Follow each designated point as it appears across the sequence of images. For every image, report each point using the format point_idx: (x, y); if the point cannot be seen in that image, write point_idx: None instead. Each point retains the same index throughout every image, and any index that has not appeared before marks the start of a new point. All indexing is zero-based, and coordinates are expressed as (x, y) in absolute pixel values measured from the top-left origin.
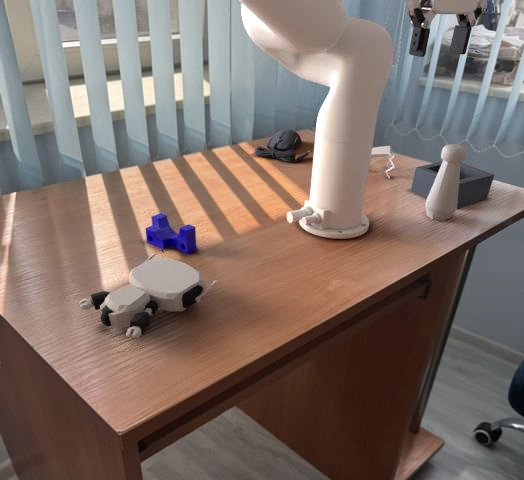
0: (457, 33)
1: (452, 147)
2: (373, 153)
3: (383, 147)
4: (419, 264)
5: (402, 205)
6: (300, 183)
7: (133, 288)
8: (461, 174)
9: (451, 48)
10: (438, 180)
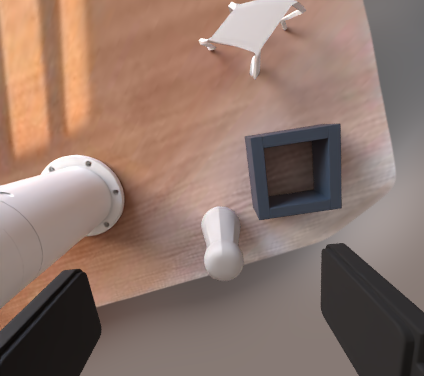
0: (372, 330)
1: (213, 271)
2: (228, 38)
3: (272, 7)
4: (128, 295)
5: (200, 175)
6: (96, 41)
7: None
8: (322, 160)
9: (329, 260)
10: (206, 239)
